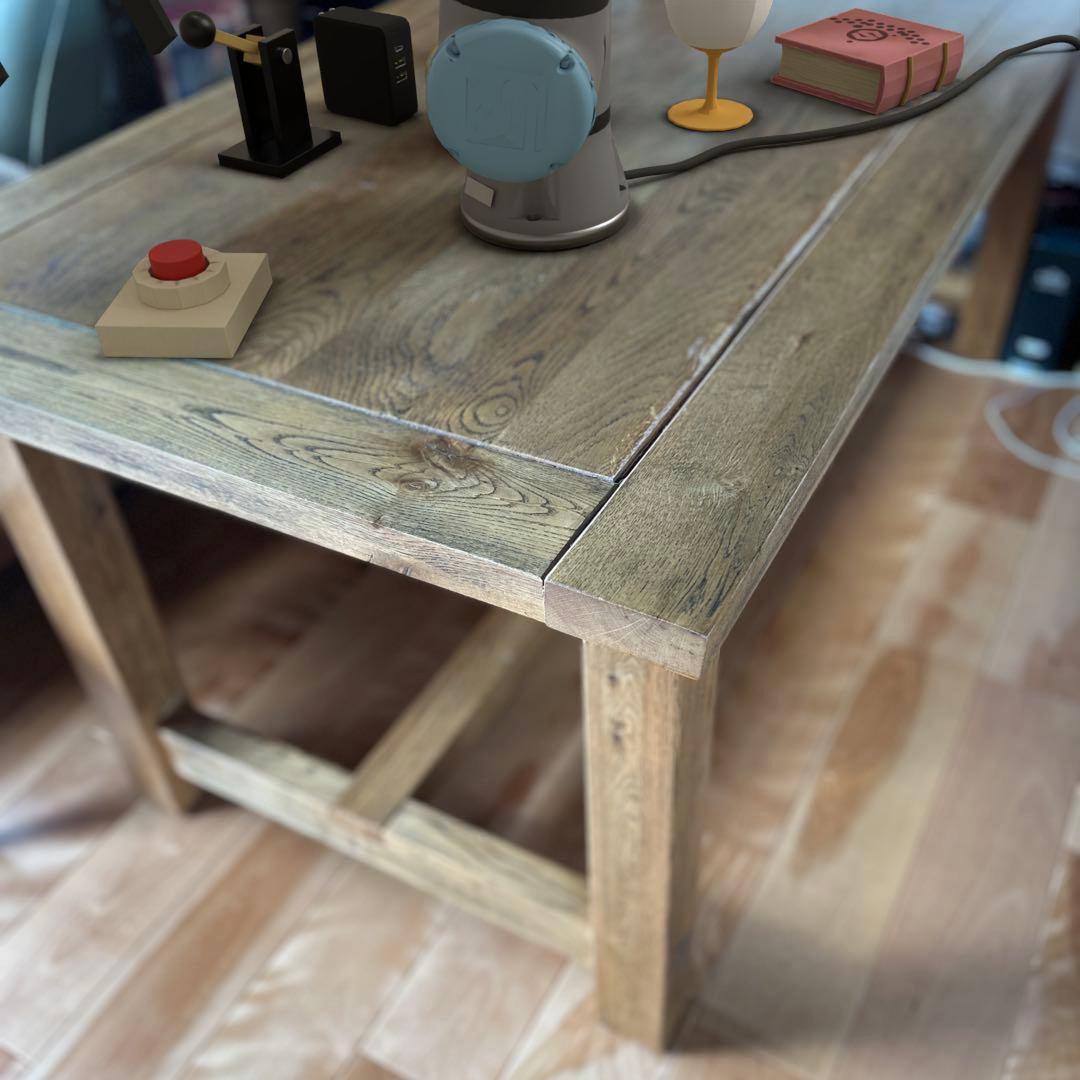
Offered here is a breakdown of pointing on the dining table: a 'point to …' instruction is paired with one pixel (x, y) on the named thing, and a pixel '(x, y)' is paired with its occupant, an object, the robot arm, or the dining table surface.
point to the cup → (714, 54)
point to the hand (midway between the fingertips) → (86, 66)
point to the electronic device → (366, 64)
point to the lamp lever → (216, 36)
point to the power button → (177, 260)
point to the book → (868, 59)
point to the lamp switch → (273, 110)
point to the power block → (186, 309)
